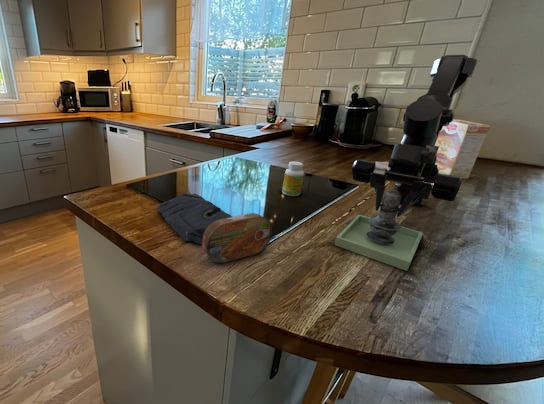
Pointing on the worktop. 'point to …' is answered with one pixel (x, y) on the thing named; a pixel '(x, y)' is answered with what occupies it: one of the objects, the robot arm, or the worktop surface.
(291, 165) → the supplement bottle
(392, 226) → the grey tall rounded piece
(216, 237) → the tin
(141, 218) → the worktop surface
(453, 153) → the coffeecake box
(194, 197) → the navy blue pouch
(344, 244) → the sage tray
